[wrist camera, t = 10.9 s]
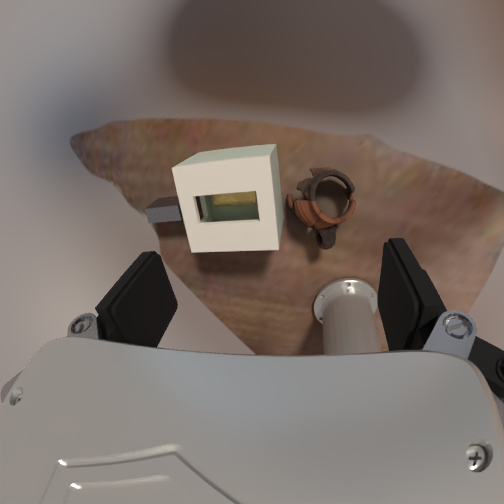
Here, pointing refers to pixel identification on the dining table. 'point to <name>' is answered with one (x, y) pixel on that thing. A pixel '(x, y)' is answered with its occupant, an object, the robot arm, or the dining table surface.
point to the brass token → (235, 198)
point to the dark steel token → (164, 210)
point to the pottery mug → (310, 211)
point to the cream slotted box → (231, 181)
